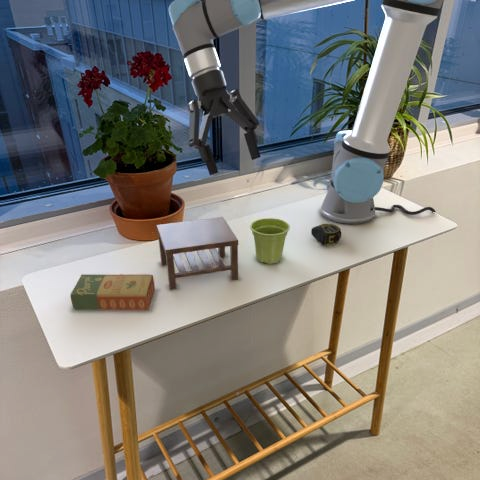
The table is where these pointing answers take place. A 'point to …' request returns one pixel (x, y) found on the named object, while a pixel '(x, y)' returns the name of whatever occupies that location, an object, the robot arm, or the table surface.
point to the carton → (113, 292)
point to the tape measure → (326, 233)
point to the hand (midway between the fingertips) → (235, 166)
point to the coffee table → (197, 247)
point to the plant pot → (269, 239)
